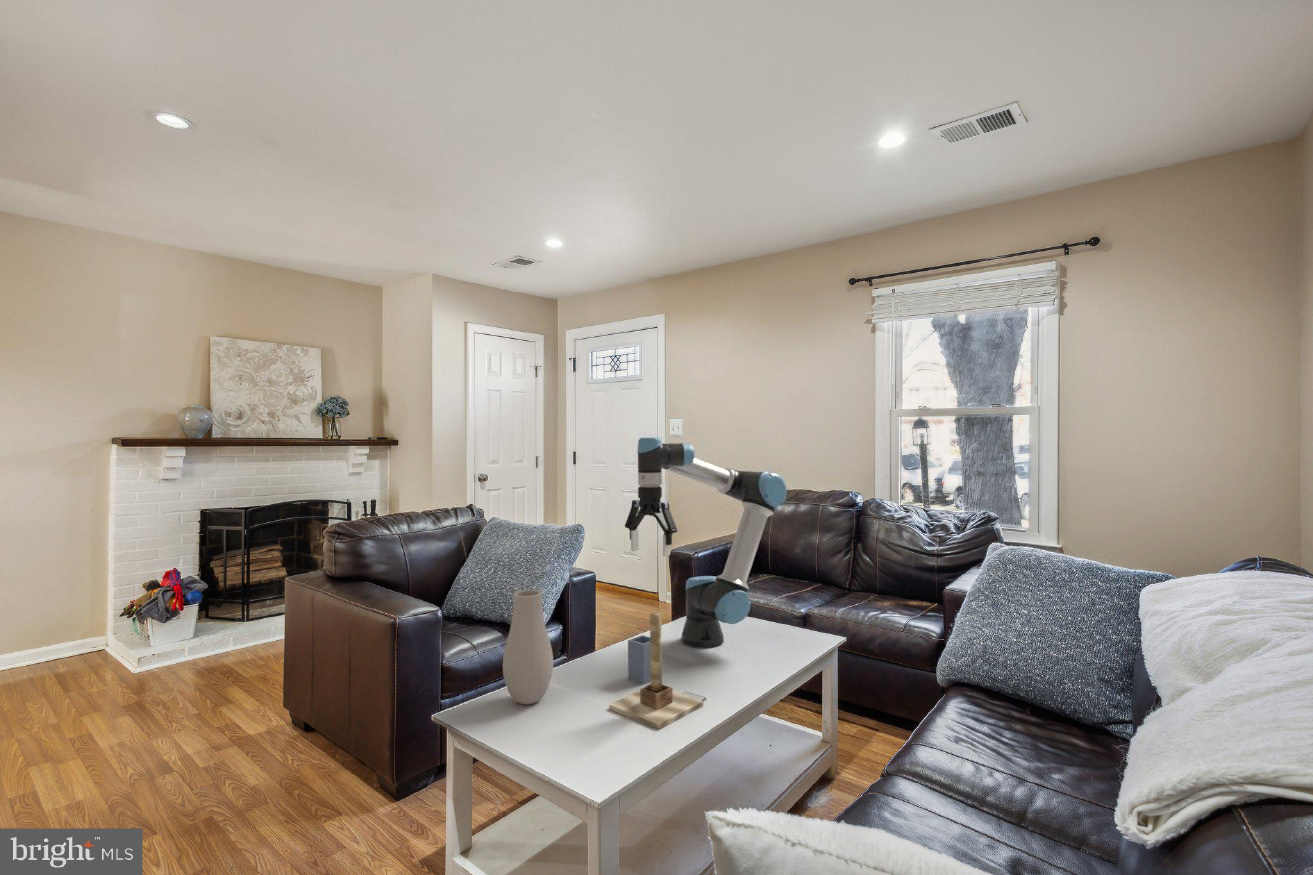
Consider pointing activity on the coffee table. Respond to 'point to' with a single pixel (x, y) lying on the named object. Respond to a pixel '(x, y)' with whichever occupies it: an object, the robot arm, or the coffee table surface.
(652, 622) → the dowel
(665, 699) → the board with square socket
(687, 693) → the smartphone
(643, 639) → the grey square tube
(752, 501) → the robot arm
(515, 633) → the vase
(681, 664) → the coffee table surface
